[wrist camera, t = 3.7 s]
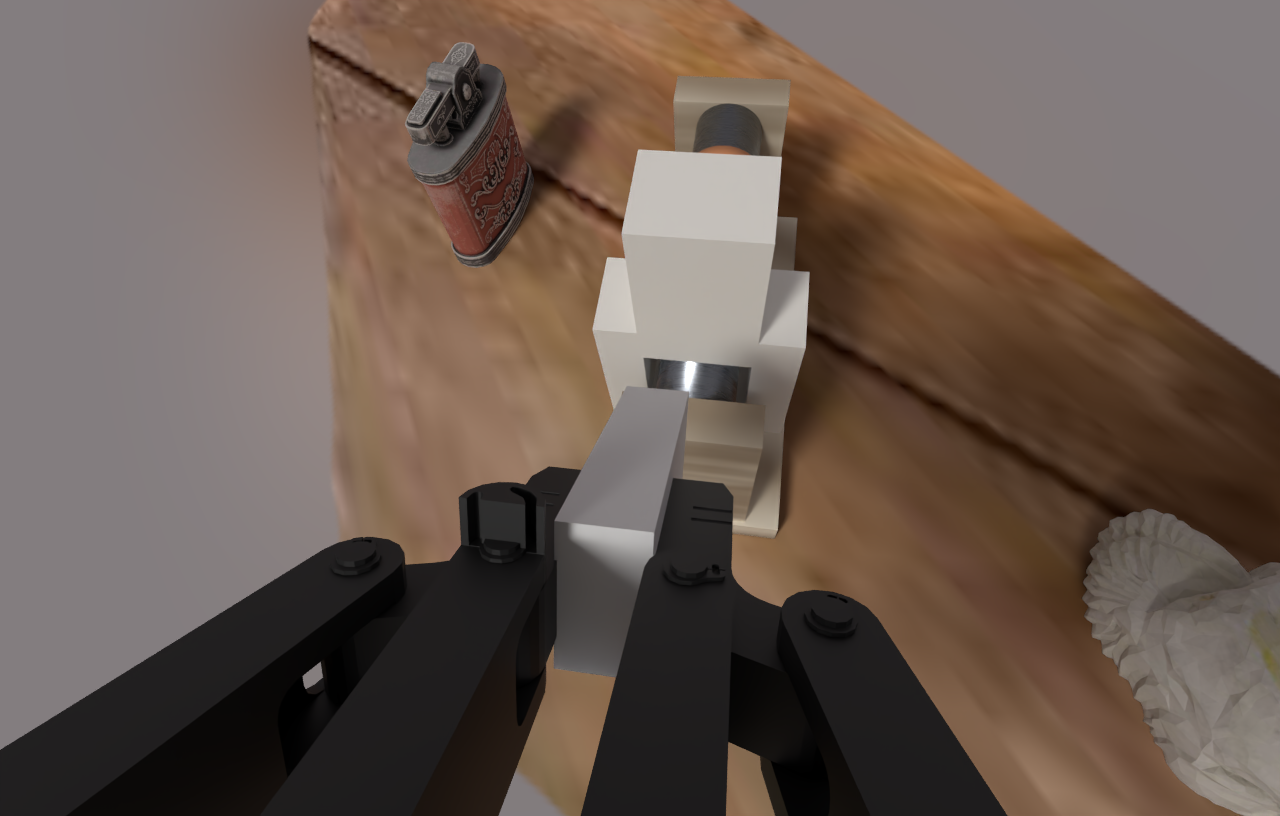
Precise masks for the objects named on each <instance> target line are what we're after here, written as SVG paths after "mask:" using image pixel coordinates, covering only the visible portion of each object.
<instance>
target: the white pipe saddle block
mask: <svg viewBox="0 0 1280 816" xmlns="http://www.w3.org/2000/svg"><path fill="white" fill-rule="evenodd" d="M781 162H782V157H772V156H752V155H732V154H712V153H693V152H673V151H653V150H638V154H637V159H636V164H635V169H634V174H633V179H632V184H631V189H630V194H629V199H628V204H627V209H626V214H625V219H624V224H623V229H622V240H623V246H624V253H625V259H624V258H610V257H607V262H606V267H605V272H604V277H603V281H602V286H601V291H600V296H599V301H598V306H597V311H596V315H595V320H594V325H593V333H594V337H595V341H596V345H597V348H598V352H599V356H600V360H601V363H602V367H603V371H604V375H605V379H606V382H607V386H608V390H609V394H610V398H611V401H612V405H613V409H615V407H616V405H617V403H618V402H619V400H620V398H621V396H622V391H624V390H625V389H626V387H627V386H633V387H644V388H655V389H656V386H657V380H658V373H659V366H660V360H661V359H665V360H675V361H686V362H697V363H708V364H719V365H730V366H739V375H738V386H737V396H736V402H737V403H747V404H757V405H766V409H765V422H764V432H772V433H781V431H782V427H783V424H784V420H785V417H786V414H787V410H788V407H789V403H790V400H791V397H792V393H793V390H794V386H795V383H796V380H797V376H798V373H799V369H800V366H801V362H802V359H803V356H804V352H805V349H806V332H807V312H808V293H809V273H810V272H803V271H789V270H775V269H771V265H772V259H773V253H774V247H775V238H776V225H777V213H778V200H779V187H780V174H781Z"/></svg>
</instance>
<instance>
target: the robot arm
mask: <svg viewBox="0 0 1280 816" xmlns="http://www.w3.org/2000/svg"><path fill="white" fill-rule="evenodd" d="M688 399H689V392H688V391H677V390H666V389H655V388H644V387H633V386H627V387H626V389H625V390H624V392H623V394H622V396H621V398H620V400H619V402H618V403H617V405H616V407H615V409H614V411H613V413H612V415H611V416H610V418H609V420H608V422H607V424H606V426H605V428H604V429H603V431H602V433H601V435H600V437H599V439H598V441H597V442H596V444H595V446H594V448H593V450H592V452H591V454H590V455H589V457H588V459H587V461H586V463H585V465H584V467H583V468H582V470H576V469H567V468H558V467H547V468H546V469H544V470H542V471H540V472H539V473H537V474H535V475H533V476H532V477H531V478H530V480H529V481H528V482H527V484H526V485H524V484H520V483H511V482H497V483H491V484H485V485H481V486H478V487H475V488H473V489H470V490H468V491H466V492H465V493H464V494H462V495H461V496H460V497H459V511H460V530H461V546H460V547H459V549H458V550H457V551H456V553H455V554H454V555H453V557H452V558H451V559H450V561H444V562H437V563H424V564H410V565H405V556H404V552H403V550H402V548H401V547H400V545H399V544H397V543H395V542H393V541H391V540H389V539H382V538H375V537H365V538H363V537H359V538H353V539H351V540H347V541H343V542H339V543H336V544H334V545H332V546H330V547H328V548H326V549H324V550H322V551H320V552H319V553H317V554H315V555H314V556H312V557H310V558H309V559H307V560H306V561H304V562H302V563H301V564H300V565H298V566H296V567H295V568H293V569H291V570H290V571H288V572H286V573H285V574H283V575H282V576H280V577H278V578H277V579H275V580H273V581H272V582H270V583H269V584H267V585H266V586H264V587H262V588H261V589H259V590H257V591H256V592H254V593H252V594H251V595H249V596H248V597H246V598H244V599H243V600H241V601H240V602H238V603H236V604H235V605H233V606H232V607H230V608H228V609H227V610H225V611H223V612H222V613H220V614H219V615H217V616H216V617H214V618H212V619H211V620H209V621H207V622H206V623H204V624H203V625H201V626H199V627H198V628H196V629H194V630H193V631H191V632H190V633H188V634H187V635H185V636H183V637H182V638H180V639H178V640H177V641H175V642H174V643H172V644H170V645H169V646H167V647H165V648H164V649H162V650H161V651H159V652H157V653H156V654H154V655H153V656H151V657H149V658H148V659H146V660H144V661H143V662H141V663H140V664H138V665H136V666H135V667H133V668H132V669H130V670H129V671H127V672H125V673H124V674H122V675H120V676H119V677H117V678H116V679H114V680H112V681H111V682H109V683H107V684H106V685H104V686H103V687H101V688H99V689H98V690H96V691H94V692H93V693H91V694H90V695H88V696H86V697H85V698H83V699H82V700H80V701H79V702H77V703H75V704H74V705H72V706H70V707H69V708H67V709H66V710H64V711H62V712H61V713H59V714H57V715H56V716H54V717H53V718H51V719H49V720H48V721H46V722H45V723H43V724H41V725H40V726H38V727H37V728H35V729H33V730H32V731H30V732H29V733H27V734H25V735H24V736H22V737H20V738H19V739H17V740H16V741H14V742H12V743H11V744H9V745H7V746H6V747H4V748H3V749H1V750H0V816H498V815H499V813H500V810H501V807H502V805H503V802H504V799H505V797H506V794H507V792H508V788H509V786H510V784H511V781H512V778H513V776H514V773H515V770H516V768H517V765H518V762H519V760H520V757H521V754H522V752H523V749H524V746H525V744H526V741H527V738H528V736H529V733H530V730H531V728H532V725H533V722H534V720H535V717H536V714H537V712H538V709H539V706H540V704H541V701H542V699H543V696H544V693H545V686H546V662H547V660H548V657H549V655H550V652H551V650H552V647H553V645H554V668H555V669H562V670H569V671H575V672H582V673H589V674H596V675H603V676H610V677H616V680H615V684H614V688H613V691H612V695H611V699H610V703H609V707H608V711H607V715H606V719H605V723H604V727H603V731H602V735H601V738H600V742H599V746H598V750H597V754H596V758H595V762H594V766H593V770H592V774H591V778H590V781H589V785H588V789H587V793H586V797H585V801H584V805H583V809H582V813H581V816H726V793H727V761H728V742H730V743H732V744H735V745H737V746H739V747H741V748H744V749H746V750H748V751H750V752H752V753H755V754H757V755H759V756H760V761H761V771H762V774H763V777H764V780H765V784H766V787H767V790H768V793H769V797H770V800H771V803H772V807H773V810H774V813H775V816H1007V814H1006V813H1005V811H1004V810H1003V808H1002V807H1001V805H1000V804H999V802H998V801H997V799H996V797H995V796H994V794H993V793H992V791H991V790H990V788H989V787H988V785H987V784H986V782H985V781H984V779H983V778H982V776H981V775H980V773H979V772H978V770H977V769H976V767H975V766H974V764H973V763H972V761H971V760H970V758H969V756H968V755H967V753H966V752H965V750H964V749H963V747H962V746H961V744H960V743H959V741H958V740H957V738H956V737H955V735H954V734H953V732H952V731H951V729H950V728H949V726H948V725H947V723H946V722H945V720H944V718H943V717H942V715H941V714H940V712H939V711H938V709H937V708H936V706H935V705H934V703H933V702H932V700H931V699H930V697H929V696H928V694H927V693H926V691H925V690H924V688H923V687H922V685H921V684H920V682H919V681H918V679H917V677H916V676H915V674H914V673H913V671H912V670H911V668H910V667H909V665H908V664H907V662H906V661H905V659H904V658H903V656H902V655H901V653H900V652H899V650H898V649H897V647H896V646H895V644H894V643H893V641H892V640H891V638H890V636H889V635H888V633H887V632H886V630H885V629H884V627H883V626H882V624H881V623H880V621H879V620H878V618H877V617H876V616H875V615H874V614H873V613H872V612H871V611H870V610H869V609H868V608H867V607H866V606H864V605H862V604H861V603H859V602H857V601H855V600H854V599H852V598H850V597H847V596H844V595H842V594H838V593H835V592H830V591H820V590H811V591H804V592H798V593H796V594H794V595H792V596H791V597H789V598H787V599H786V601H785V602H784V604H783V606H782V607H779V606H776V605H773V604H770V603H767V602H765V601H763V600H760V599H758V598H756V597H754V596H753V595H751V594H749V593H748V592H746V591H745V590H744V589H743V588H742V587H741V586H740V585H739V584H738V583H737V582H736V580H735V579H734V577H733V575H732V569H731V560H732V529H733V498H734V497H733V495H732V494H731V493H730V491H729V490H728V489H727V487H726V486H725V485H724V484H723V483H715V482H706V481H696V480H687V479H682V478H683V465H684V452H685V439H686V426H687V412H688ZM319 662H321V667H322V674H323V678H322V679H321V680H319V681H318V682H317V683H316V684H315V685H313V686H311V687H309V688H307V689H305V687H304V683H303V677H302V676H303V675H304V674H306V673H307V672H308V671H309V670H310V669H312V668H313V667H314V666H315V665H317V664H318V663H319Z"/></svg>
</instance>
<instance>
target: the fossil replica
mask: <svg viewBox="0 0 1280 816" xmlns="http://www.w3.org/2000/svg"><path fill="white" fill-rule="evenodd" d="M1098 540H1099V543H1097V544H1096V545H1095V546H1094V547H1093V548H1092V549H1091V550H1090V554H1091V556H1092V557H1093V560H1092V562H1091V564H1090V565H1089V566H1088V568H1087V571H1086V573H1087V574H1088V576H1087V577H1086V578H1085V579H1084V581H1083V583H1084V585H1085V586H1086V588H1087V591H1086V593H1085V594H1084V596H1083V597H1082V599H1083V601H1084V602H1085V603H1086V604H1087V605H1088V606H1089V607H1088V609H1087V611H1086V613H1085V615H1084V617H1085V618H1086V619H1087V620H1088V621H1090V622H1091V623H1093V624H1092V637H1093V638H1096V639H1098V640H1101V643H1102V653H1103V654H1104V655H1105V656H1106V657H1109V658H1112V659H1113V660H1114V663H1115V664H1116V665H1117V667H1118V673H1119V675H1120V676H1121V677H1123V678H1125V679H1126V680H1128V681H1129V683H1130V685H1131V687H1132V690H1133V697H1134V699H1136V700H1138V701H1139V702H1141V704H1142V707H1143V713H1144V719H1143V721H1144V722H1145V723H1146V724H1148V725H1149V726H1150V733H1151V734H1152V735H1153V737H1154V742H1155V743H1156V744H1157V745H1158V746H1159V747H1160V748H1162V750H1163V754H1164V757H1165V761H1166V763H1167V764H1168V766H1169V767H1170V769H1171V770H1172V771H1173V773H1174V774H1175V775H1176V776H1177V778H1178V779H1179V780H1180V781H1182V782H1183V783H1184V784H1185V785H1187V786H1188V787H1189V788H1191V789H1192V790H1193V791H1195V792H1196V793H1197V794H1199V795H1201V796H1203V797H1205V798H1208V799H1209V800H1210V801H1212V802H1213V803H1214V804H1217V805H1220V806H1222V807H1225V808H1228V809H1230V810H1232V811H1233V812H1235V813H1238V814H1241V815H1244V816H1280V563H1274V562H1270V563H1267V564H1264V565H1262V566H1260V567H1258V568H1256V569H1253V570H1251V571H1250V572H1249V573H1248V572H1247V571H1246V570H1245V569H1244V568H1243V567H1242V566H1241V565H1240V563H1239V561H1238V560H1237V559H1235V558H1234V557H1233V556H1232V555H1231V554H1230V553H1229V552H1228V551H1226V549H1225V548H1224V547H1222V546H1221V545H1219V544H1218V543H1216V542H1215V541H1214V540H1212V539H1211V538H1210V537H1209V536H1207V535H1205V534H1203V533H1201V532H1199V531H1196V530H1194V529H1192V528H1191V527H1190V526H1188V525H1187V524H1186V523H1185V522H1184V521H1180V520H1177V518H1176V517H1175V516H1174V515H1172V514H1169V513H1165V514H1163V513H1160V512H1158V511H1156V510H1154V509H1146V510H1143V511H1141V513H1140V512H1132V513H1130V514H1128V515H1127V516H1126V517H1117V518H1115V519H1112V520H1110V523H1109V527H1108V528H1106V529H1105V530H1103V531H1101V532H1099V534H1098Z"/></svg>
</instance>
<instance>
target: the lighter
mask: <svg viewBox="0 0 1280 816" xmlns="http://www.w3.org/2000/svg"><path fill="white" fill-rule="evenodd" d="M426 81H427V83H426V89H425V90H424V92H423V93H422V95H421V96H420V98H419V99H418V101H417V103H416V104H415V106H414V107H413V109H412V110H411V112H410V114H409V115H408V117H407V120H406V122H405V126H406V128H407V130H408V132H409V134H410V136H411V138H412V140H413V143H412V146H411V149H410V152H409V154H408V164H409V166H410V168H411V170H412V172H413V174H414V176H415V177H416V178H417V179H418V180H419V181H420V182H422V183H423V185H424V187H425V189H426V191H427V193H428V195H429V197H430V199H431V201H432V203H433V205H434V207H435V209H436V211H437V213H438V215H439V217H440V219H441V221H442V223H443V224H444V226H445V228H446V230H447V232H448V234H449V236H450V238H451V240H452V241H451V247H452V249H453V251H454V253H455V255H456V257H457V259H458V261H459V262H461V263H462V264H463V265H465V266H468V267H475V268H477V267H483V266H486V265H488V264H490V263H491V262H492V261H493V260H495V258H496V257H497V256H498V254H499V253H500V252H501V251H502V249H503V248H504V247H505V245H506V244H507V243H508V241H509V240H510V238H511V237H512V235H513V233H514V232H515V230H516V228H517V227H518V225H519V223H520V221H521V219H522V217H523V214H524V212H525V209H526V207H527V205H528V202H529V199H530V195H531V191H532V187H533V183H534V177H533V174H532V171H531V167H530V166H529V164H528V163H527V162H526V161H525V158H524V155H523V152H522V148H521V145H520V142H519V138H518V135H517V132H516V129H515V125H514V122H513V119H512V115H511V112H510V109H509V106H508V102H507V99H506V96H505V94H506V83H505V80H504V77H503V74H502V72H501V71H500V70H499V69H498V68H497V67H495V66H492V65H489V64H480V62H479V59H478V56H477V53H476V50H475V47H474V45H473V44H470V43H465V42H460V43H457V44H455V45H454V46H453V47H452V49H451V50H450V52H449V53H448V55H447V57H446V58H445V60H444V61H443V63H439V62H432V63H431V64H430V66H429V67H428V69H427V73H426Z"/></svg>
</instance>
